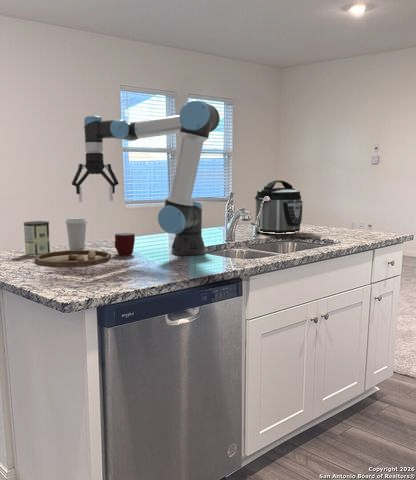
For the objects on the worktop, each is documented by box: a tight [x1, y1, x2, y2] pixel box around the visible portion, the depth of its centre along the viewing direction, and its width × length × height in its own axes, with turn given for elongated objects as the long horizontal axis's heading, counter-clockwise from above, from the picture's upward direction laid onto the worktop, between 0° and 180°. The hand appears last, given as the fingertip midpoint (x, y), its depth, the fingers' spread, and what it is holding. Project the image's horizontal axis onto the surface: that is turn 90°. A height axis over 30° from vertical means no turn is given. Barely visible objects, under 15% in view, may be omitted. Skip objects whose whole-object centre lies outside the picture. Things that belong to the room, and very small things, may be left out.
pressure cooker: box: [254, 179, 303, 233], centre depth 286 cm, size 30×28×32 cm
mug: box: [114, 232, 136, 257], centre depth 200 cm, size 11×8×10 cm
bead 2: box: [88, 253, 95, 260], centre depth 186 cm, size 3×3×3 cm
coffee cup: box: [65, 216, 88, 250], centre depth 217 cm, size 10×10×15 cm
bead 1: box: [76, 255, 84, 262], centre depth 182 cm, size 3×3×3 cm
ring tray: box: [34, 249, 112, 268], centre depth 188 cm, size 28×28×3 cm
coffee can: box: [23, 220, 51, 257], centre depth 206 cm, size 10×10×14 cm
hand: (96, 201), depth 211 cm, fingers open, 13 cm apart
